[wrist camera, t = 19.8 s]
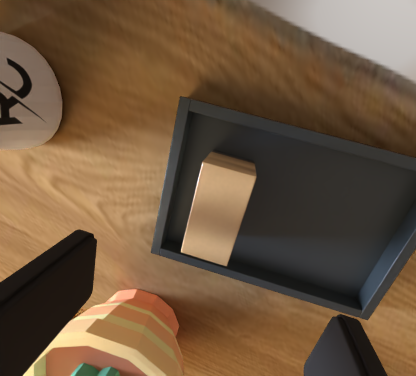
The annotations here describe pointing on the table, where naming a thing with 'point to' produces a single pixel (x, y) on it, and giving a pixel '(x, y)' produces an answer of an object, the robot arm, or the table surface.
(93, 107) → the table surface
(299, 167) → the tray
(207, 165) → the wooden block
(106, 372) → the potted cactus
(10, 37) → the mug
